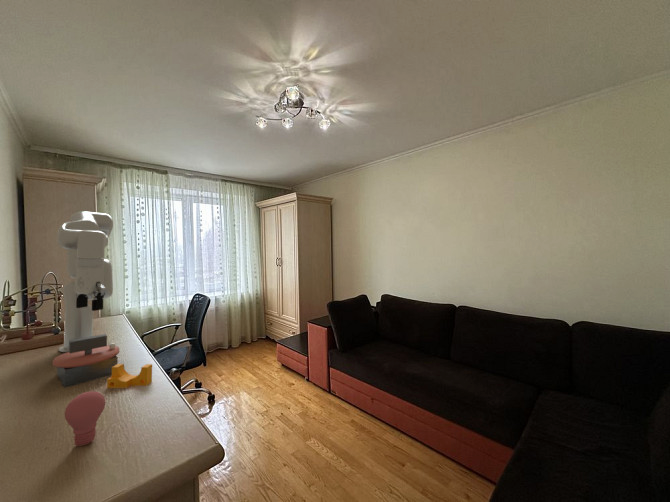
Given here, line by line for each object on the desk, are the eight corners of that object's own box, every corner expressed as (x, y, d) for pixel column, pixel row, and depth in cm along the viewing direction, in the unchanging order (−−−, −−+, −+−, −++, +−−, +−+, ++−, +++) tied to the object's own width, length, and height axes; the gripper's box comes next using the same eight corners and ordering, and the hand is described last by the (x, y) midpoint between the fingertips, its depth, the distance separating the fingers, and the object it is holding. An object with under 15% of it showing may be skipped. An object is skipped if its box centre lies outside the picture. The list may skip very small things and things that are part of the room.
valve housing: (57, 375, 96) (57, 359, 96) (106, 363, 107) (106, 348, 107) (64, 387, 87) (65, 370, 87) (117, 372, 99) (117, 357, 99)
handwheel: (54, 372, 85) (55, 350, 85) (50, 357, 96) (51, 338, 96) (124, 356, 98) (125, 337, 98) (113, 345, 110) (114, 328, 110)
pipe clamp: (107, 388, 88) (107, 369, 88) (117, 382, 92) (117, 363, 92) (143, 388, 88) (143, 369, 88) (151, 382, 93) (152, 364, 93)
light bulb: (82, 433, 66) (83, 386, 66) (111, 432, 67) (113, 385, 67) (54, 455, 59) (55, 402, 59) (88, 453, 60) (89, 401, 60)
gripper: (64, 262, 97) (63, 308, 97) (92, 264, 91) (90, 313, 91) (89, 262, 104) (88, 304, 104) (116, 264, 98) (115, 309, 98)
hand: (89, 308), depth 98 cm, fingers open, 9 cm apart
